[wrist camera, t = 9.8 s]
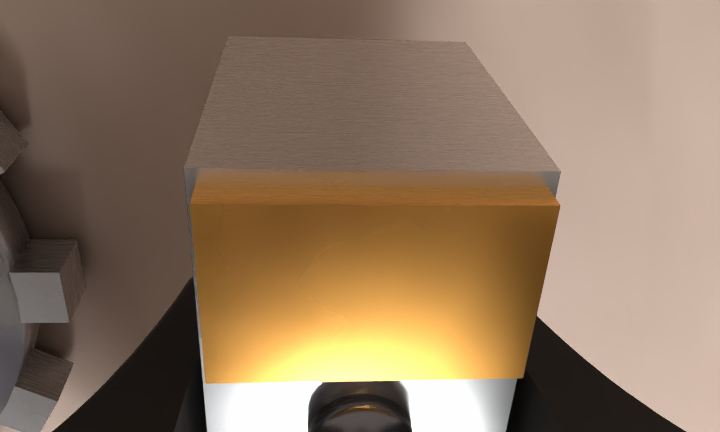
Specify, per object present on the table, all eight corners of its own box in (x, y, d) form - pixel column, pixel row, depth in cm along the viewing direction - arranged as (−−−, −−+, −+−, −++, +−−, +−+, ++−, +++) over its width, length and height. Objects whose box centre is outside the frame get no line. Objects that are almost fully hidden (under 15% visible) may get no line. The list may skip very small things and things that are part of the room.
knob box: (415, 451, 17) (459, 696, 12) (248, 456, 16) (227, 709, 12) (465, 41, 12) (573, 188, 7) (228, 35, 11) (178, 185, 7)
